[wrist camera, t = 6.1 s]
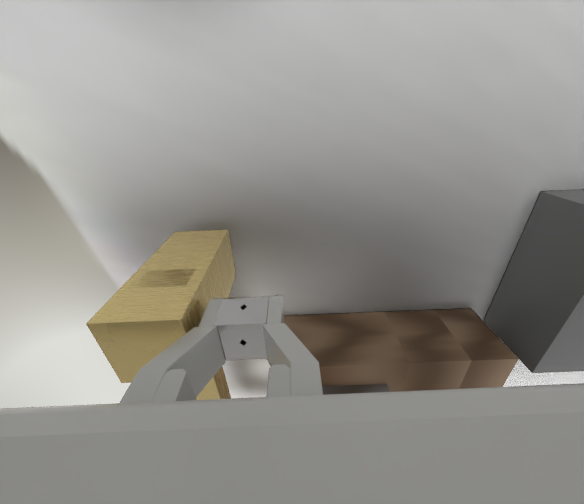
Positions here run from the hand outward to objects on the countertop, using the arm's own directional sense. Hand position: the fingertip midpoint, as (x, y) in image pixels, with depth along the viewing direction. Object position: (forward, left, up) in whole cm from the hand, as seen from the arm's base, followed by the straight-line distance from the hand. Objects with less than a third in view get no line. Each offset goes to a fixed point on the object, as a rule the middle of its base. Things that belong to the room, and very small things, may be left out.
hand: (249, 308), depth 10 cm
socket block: (-8, +13, -7) cm, 17 cm away
